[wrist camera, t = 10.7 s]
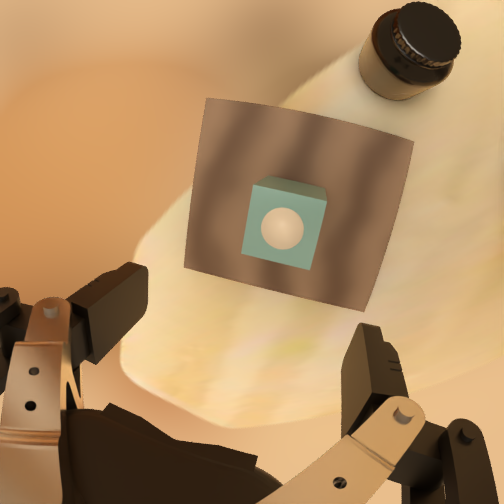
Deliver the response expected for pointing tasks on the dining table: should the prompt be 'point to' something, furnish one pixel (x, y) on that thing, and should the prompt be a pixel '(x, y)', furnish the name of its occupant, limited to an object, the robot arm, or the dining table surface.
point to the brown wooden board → (305, 171)
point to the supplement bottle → (409, 51)
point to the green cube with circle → (284, 221)
